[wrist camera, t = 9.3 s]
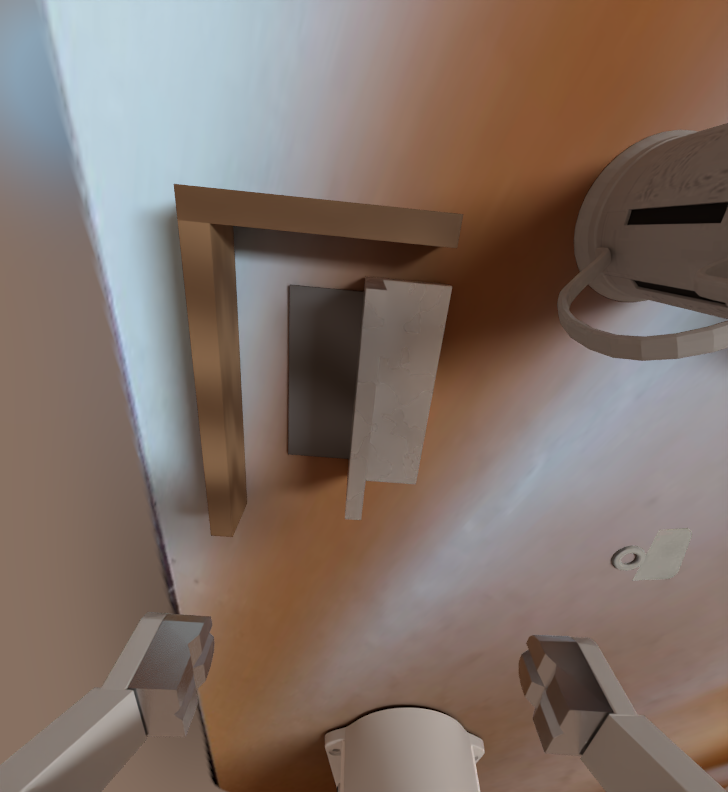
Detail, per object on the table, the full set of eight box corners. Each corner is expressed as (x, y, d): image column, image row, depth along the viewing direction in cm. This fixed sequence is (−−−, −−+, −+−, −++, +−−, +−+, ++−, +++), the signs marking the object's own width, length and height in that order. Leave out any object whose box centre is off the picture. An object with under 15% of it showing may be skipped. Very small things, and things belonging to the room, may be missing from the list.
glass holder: (734, 268, 22) (1365, 332, 8) (500, 354, 24) (684, 519, 10) (737, 98, 18) (1824, -284, 5) (464, 215, 21) (667, 185, 7)
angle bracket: (365, 276, 22) (366, 288, 17) (448, 284, 22) (471, 298, 17) (347, 470, 27) (344, 518, 23) (413, 475, 28) (424, 524, 23)
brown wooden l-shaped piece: (397, 513, 29) (402, 548, 26) (227, 501, 29) (211, 535, 26) (447, 216, 21) (463, 214, 17) (203, 191, 20) (173, 183, 17)
